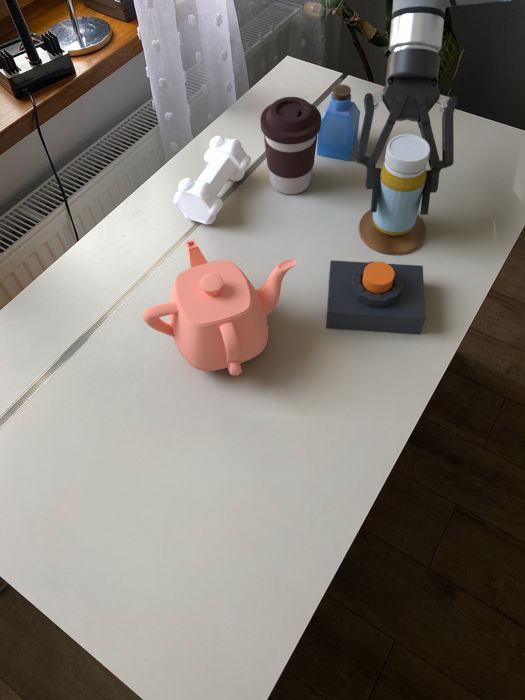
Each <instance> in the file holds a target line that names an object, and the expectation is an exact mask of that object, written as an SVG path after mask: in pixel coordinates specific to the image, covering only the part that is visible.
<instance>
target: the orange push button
mask: <svg viewBox="0 0 525 700" xmlns="http://www.w3.org/2000/svg"><path fill="white" fill-rule="evenodd" d="M371 262H372V263H370V264H368V265H367V266H366V267H365V269H364V274H363V280H362V282H363V285H364V287H365V288H366V289H367V290H368V291H370V292H372V293H377V294H380V293H385V292H387V291H388V290H390V289H391V287H392V285H393V280H394V276H395V273H394V270H393V268H392V267H391V266H390V265H389V264H390V263H387V262H384V261H371Z"/></svg>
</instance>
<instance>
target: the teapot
mask: <svg viewBox="0 0 525 700" xmlns="http://www.w3.org/2000/svg"><path fill="white" fill-rule="evenodd" d="M185 246H186V252H187V258H188V262H189V263H188V264H189V268H187V269H185V270H183V271H181V272H180V273H178V274H177V276H176V278H175V280H174V282H173V286H172V288H171V292H170V296H169V302H165V303H160V304H155V305H152V306H149V307H148V308H146V309H145V310H144V311H143V313H142V319H143V322H144V323H145V324H146V325H147V326H148V327H150V328H151V329H153V330H155V331H157V332H160V333H162V334H164V335H166V336H168V337H169V336H170V337H172V340H173V341H174V345H175V346H176V348H177V350H178V352H179V353H180V355H181V356H182V357H183V358H184V360H185V361H186V362H187V363H188V364H189V365H190V366H191V367H193V368H194V369H196V370H199V371H202V372H213V371H219V370H223V369H227V370H228V372H229V374H230V375H231V376H239V375H240V374H242V372H243V369H242V365H241V364H242V363H245V362H247V361H250V360H252V359H254V358H255V357H257V356H258V355H260V354H261V353H262V352H263V351H264V350H265V348H266V346H267V344H268V340H269V325H268V319H267V316H268V315H270V314H271V313H272V312H273V311H274V309H275V308H276V307H277V305H278V303H279V300H280V297H281V289H282V282H283V280H284V277H285V276H286V274H287V273H288V272H289V271H290V270H291V269H292V268H293V267H295V265H296V263H297V260H296V259H295V258H290V259H286V260H284V261H281V262H280V263H279V264H277V265H276V266H275V267H274V268H273V270H272V271H271V272H270V275H269V277H268V279H267V281H266V282H265V283H264V284H263V285H262V286H260V287H259V288H257V289H256V288H255V286H254V285H253V283H252V282H251V280H250V279H249V278H248V277H247V275H245V273H244V272H243V270H242V269H241V268H240V267H239V266H238V265H237V264H236V263H235V262H233V261H232V260H230V259H219V260H214V261H210V262H208V261H207V259H206V258H205V255H204V254H203V252H202V251H201V249H200V247H199V245H198V244H197V242H196V240H195V239H190V240H187V241H185ZM166 316H168V317H169V323H168V322H166V321H164V320H162V319H161V318H162V317H166Z"/></svg>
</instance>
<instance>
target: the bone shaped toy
mask: <svg viewBox="0 0 525 700" xmlns="http://www.w3.org/2000/svg"><path fill="white" fill-rule="evenodd" d="M203 158H204V161H205V162H206V163H207V166H206V167H205V168H204V170H203V171H202V172H201V174H200V175H199V177H198V178H197V180H196V179H193V178H191V177H186V178H183V179H182V180H180V182H179V183H178V187H177V189H178V191H176V193H175V194H174V197H173V203H174V205H175V206H177V207H178V208H179V210H180V211H181V213H182V214H183V215H184V218H185V219H186V220H188V221H193V222H197V223H200V224H203V225H211V224H212V223H214V222H215V221H216V219H217V214H218V213H219V212H220V211H221V209H222V207H223V200H222V198H220V197H219V196H218V195H219V194H220V192H221V191H222V190H223V187H225V185H226V184H227V182H228V181H229V180H231V181H232V182H239V181H241V180H242V179H243V178H244V177H245V173H246V172H245V171H246V170H247V169H248V168H249V167H250V165H251V162H252V158H251V156H250V155H249V154H247V153H246V151H245V149H244V147H243V145H242V142H241V141H240V140H239V139H238V138H232V139H230V138H226V137H224V136H223V135H216V136H214V137H212V138H211V139H210V141H209V148H207V151H206V152H205V154H204V157H203Z"/></svg>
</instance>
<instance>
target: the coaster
mask: <svg viewBox="0 0 525 700" xmlns="http://www.w3.org/2000/svg"><path fill="white" fill-rule="evenodd" d="M370 211H371V209H369V210H368V211H366V212H365V213H364V214H363V215H362V217H361V218H360V220H359V224H358V234H359V237H360V239H361V241H362V242H363V243H364V245H365V246H367V247H368V248H369V249H371V250H373V251H374V252H375V253H379V254H382V255H386V256H403V255H406V254H410V253H412V252H414V251H416V250H417V249H418V248H419V247H420V246H421V245H422V244H423V242H424V240H425V238H426V237H425V235H426V233H427V232H426V225H425V222H424V220H423V219H422V218H421V216H420V215H419V214H417V218H416V221H415V225H414V227H413V228H412V229H411V230H410V231H409V232H407V233H405V234H402V235H395V236H392V235H387V234H385V233H383V232H381V231H380V230H379V229H377V228H376V227H375V225H374V223H373V212H370Z"/></svg>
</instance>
